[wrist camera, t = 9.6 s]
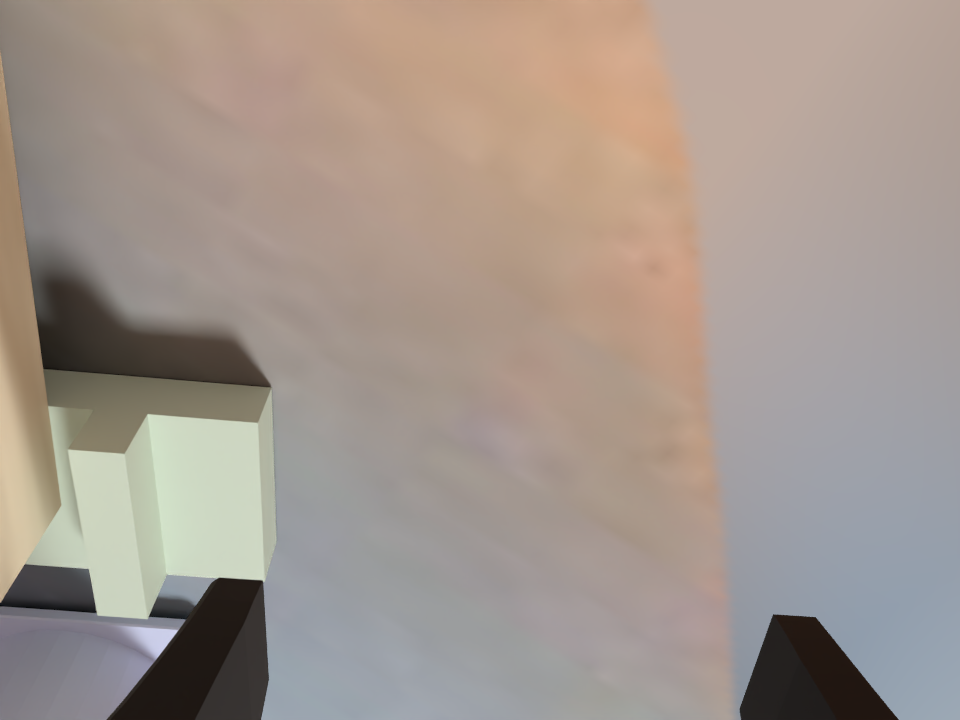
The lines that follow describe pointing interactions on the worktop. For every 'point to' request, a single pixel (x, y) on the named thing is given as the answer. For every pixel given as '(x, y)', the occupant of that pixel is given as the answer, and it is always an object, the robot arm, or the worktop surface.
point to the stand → (158, 484)
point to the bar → (20, 385)
